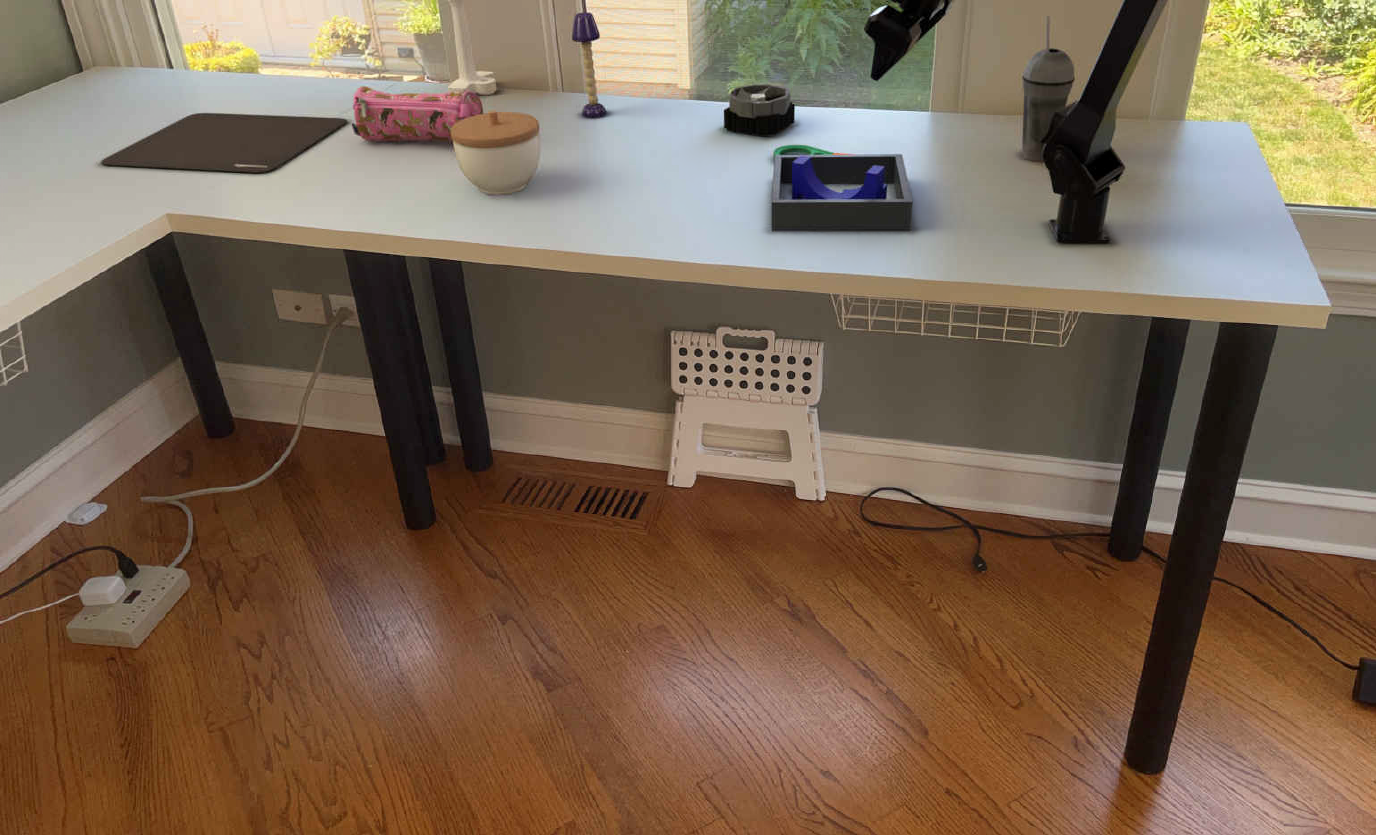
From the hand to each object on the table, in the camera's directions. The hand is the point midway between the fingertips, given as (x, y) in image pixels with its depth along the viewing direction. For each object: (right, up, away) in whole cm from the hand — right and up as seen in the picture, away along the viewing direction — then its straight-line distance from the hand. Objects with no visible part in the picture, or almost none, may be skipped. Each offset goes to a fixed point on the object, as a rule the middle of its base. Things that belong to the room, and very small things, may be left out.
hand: (886, 67), depth 149 cm
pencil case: (-70, -2, +33) cm, 77 cm away
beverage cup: (+25, -8, +16) cm, 31 cm away
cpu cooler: (-15, 0, +32) cm, 36 cm away
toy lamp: (-43, +5, +42) cm, 60 cm away
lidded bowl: (-54, -13, +14) cm, 57 cm away
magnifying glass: (-7, -9, +17) cm, 20 cm away
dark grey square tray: (-6, -18, +3) cm, 19 cm away
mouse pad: (-104, -1, +37) cm, 110 cm away
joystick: (-66, +13, +56) cm, 87 cm away
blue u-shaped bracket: (-6, -18, +3) cm, 20 cm away
